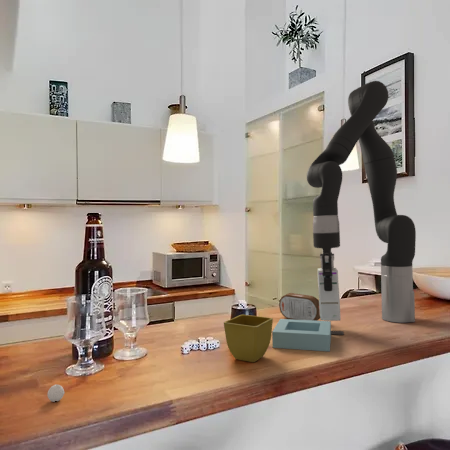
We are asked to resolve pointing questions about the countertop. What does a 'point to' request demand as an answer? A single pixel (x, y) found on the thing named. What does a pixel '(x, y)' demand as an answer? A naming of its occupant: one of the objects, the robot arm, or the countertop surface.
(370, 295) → the countertop surface
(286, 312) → the tin
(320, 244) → the robot arm
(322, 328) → the teal square holder
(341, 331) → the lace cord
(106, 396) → the countertop surface
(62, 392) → the grey ball
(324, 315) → the syrup box
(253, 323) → the flower pot
